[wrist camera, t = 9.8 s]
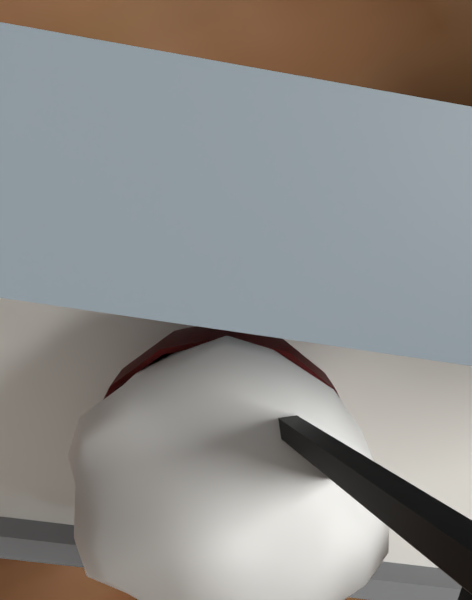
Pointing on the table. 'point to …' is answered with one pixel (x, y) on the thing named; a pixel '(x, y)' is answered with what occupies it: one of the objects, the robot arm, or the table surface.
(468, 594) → the robot arm
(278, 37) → the table surface
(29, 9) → the table surface
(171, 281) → the cleat board
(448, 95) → the table surface
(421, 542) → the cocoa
